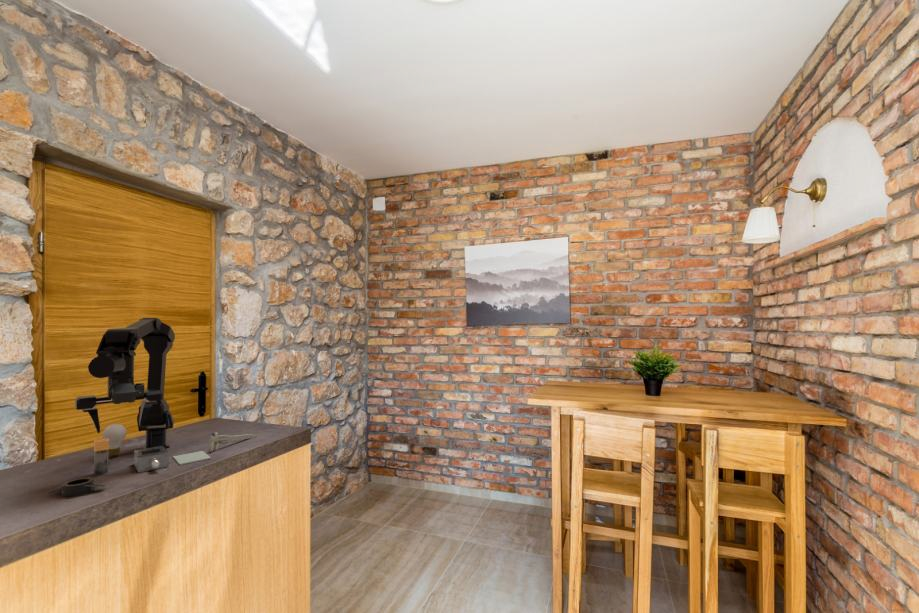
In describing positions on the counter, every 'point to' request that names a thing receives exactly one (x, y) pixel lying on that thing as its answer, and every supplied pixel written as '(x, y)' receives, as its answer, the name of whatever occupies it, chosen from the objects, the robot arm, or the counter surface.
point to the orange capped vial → (101, 456)
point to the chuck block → (151, 458)
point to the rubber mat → (191, 457)
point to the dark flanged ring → (76, 487)
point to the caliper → (225, 440)
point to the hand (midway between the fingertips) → (120, 429)
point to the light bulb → (114, 437)
